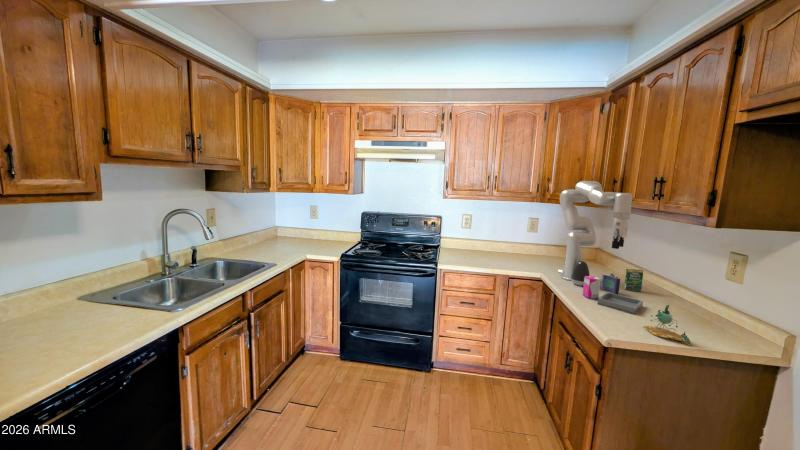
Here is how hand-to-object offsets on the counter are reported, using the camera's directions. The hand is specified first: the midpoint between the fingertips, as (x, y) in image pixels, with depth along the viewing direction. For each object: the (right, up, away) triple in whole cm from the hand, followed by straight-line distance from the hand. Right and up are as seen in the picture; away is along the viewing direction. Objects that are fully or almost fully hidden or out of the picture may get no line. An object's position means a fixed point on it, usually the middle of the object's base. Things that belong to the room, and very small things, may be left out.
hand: (617, 247), depth 167 cm
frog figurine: (-6, -35, -37) cm, 51 cm away
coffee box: (+22, -28, +18) cm, 40 cm away
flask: (+6, -28, +15) cm, 32 cm away
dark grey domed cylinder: (-5, -25, +27) cm, 37 cm away
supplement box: (-12, -28, +5) cm, 31 cm away
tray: (-2, -30, -5) cm, 31 cm away
